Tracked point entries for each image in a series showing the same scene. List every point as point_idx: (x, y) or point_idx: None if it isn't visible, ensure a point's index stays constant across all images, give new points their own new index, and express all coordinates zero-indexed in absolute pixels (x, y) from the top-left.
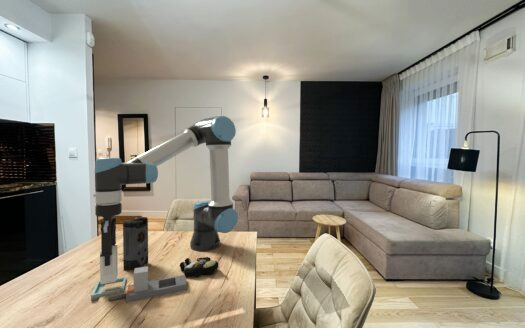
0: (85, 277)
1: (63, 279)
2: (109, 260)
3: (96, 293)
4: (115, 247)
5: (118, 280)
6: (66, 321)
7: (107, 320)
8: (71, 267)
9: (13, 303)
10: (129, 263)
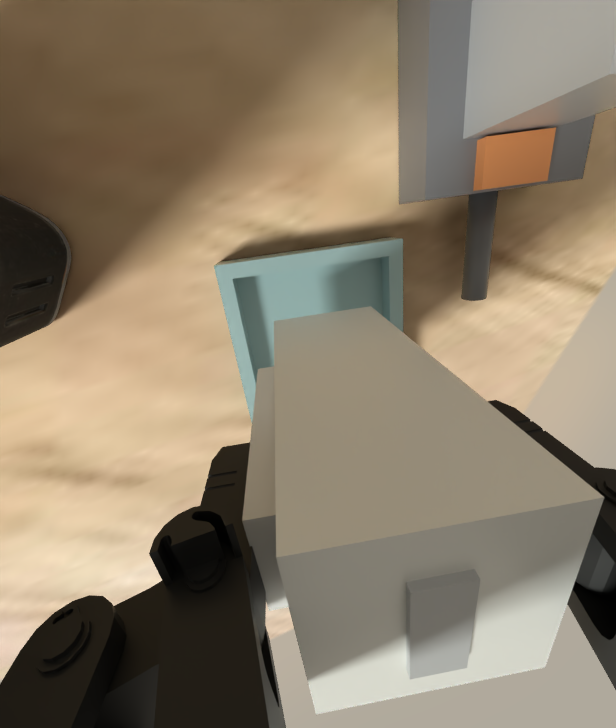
0: (131, 499)
1: (144, 568)
2: (554, 438)
3: None
4: (448, 540)
5: (241, 311)
6: None
7: (604, 254)
8: (5, 596)
9: None
10: (14, 289)
